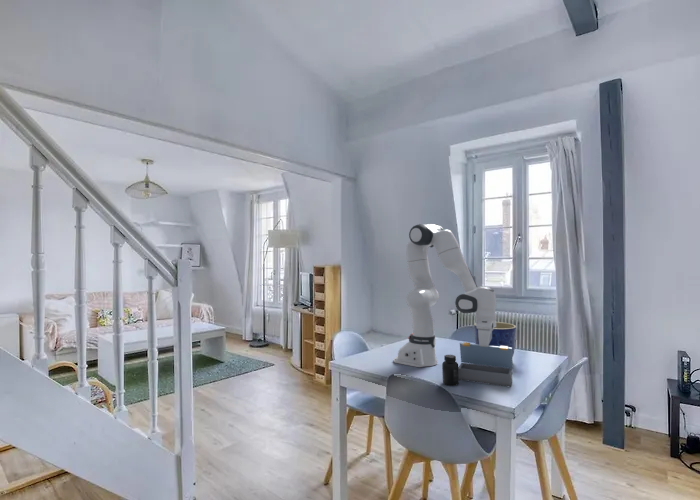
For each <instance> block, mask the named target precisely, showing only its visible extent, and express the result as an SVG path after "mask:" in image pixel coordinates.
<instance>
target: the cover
mask: <svg viewBox="0 0 700 500" xmlns="http://www.w3.org/2000/svg"><path fill="white" fill-rule="evenodd" d="M459 351H460V352H459V354H460V362H461V363H468V364H476V365H485V366H493V367H502V368H510V369H513V368H514V367H513V366H514V365H513V364H514V363H513V357H512V348H510V347H508V346H500V347H499V346H488V347H481V346H480V345H478V344H475V343H471V342H465V341H464V342H459Z"/></svg>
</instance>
